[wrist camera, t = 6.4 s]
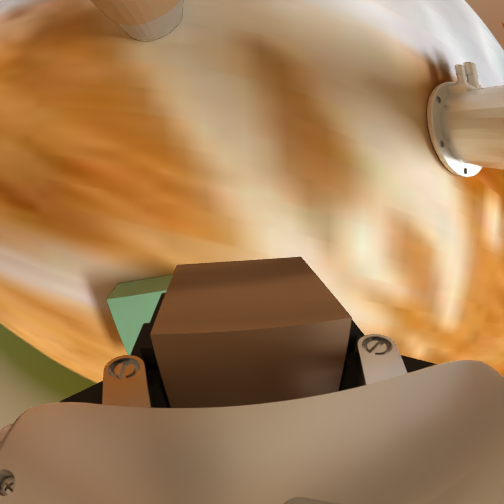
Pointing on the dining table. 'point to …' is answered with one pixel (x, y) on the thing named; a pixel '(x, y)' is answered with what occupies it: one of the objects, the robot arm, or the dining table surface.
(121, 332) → the green base
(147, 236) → the dining table surface
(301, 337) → the walnut cube
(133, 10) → the coffee cup
